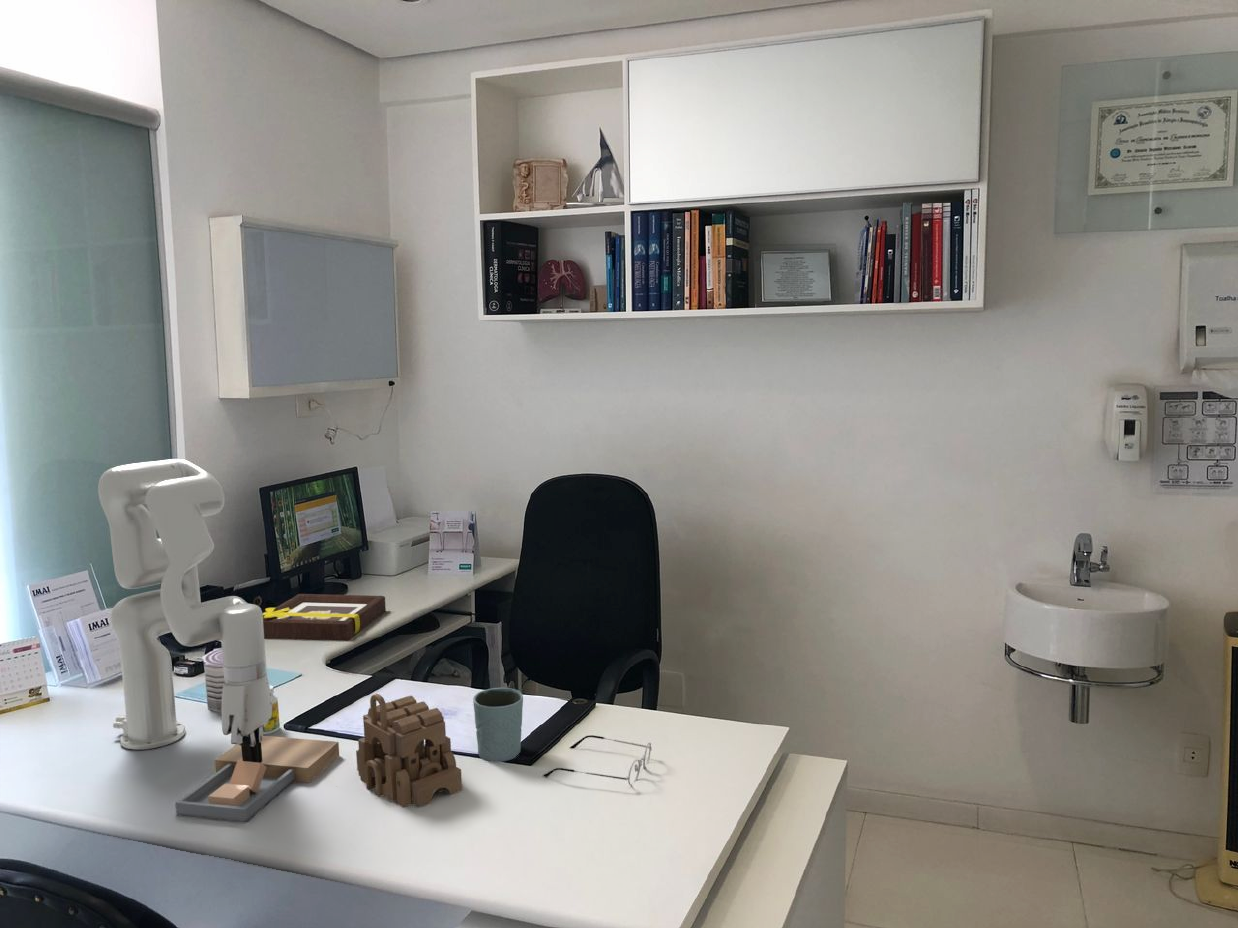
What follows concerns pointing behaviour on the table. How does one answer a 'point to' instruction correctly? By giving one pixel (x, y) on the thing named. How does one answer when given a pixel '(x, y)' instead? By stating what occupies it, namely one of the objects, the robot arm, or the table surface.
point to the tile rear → (248, 775)
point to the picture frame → (322, 617)
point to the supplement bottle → (273, 715)
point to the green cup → (498, 723)
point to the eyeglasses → (609, 775)
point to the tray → (199, 805)
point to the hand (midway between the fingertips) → (252, 763)
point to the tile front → (230, 795)
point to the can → (214, 679)
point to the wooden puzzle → (406, 752)
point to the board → (288, 757)
